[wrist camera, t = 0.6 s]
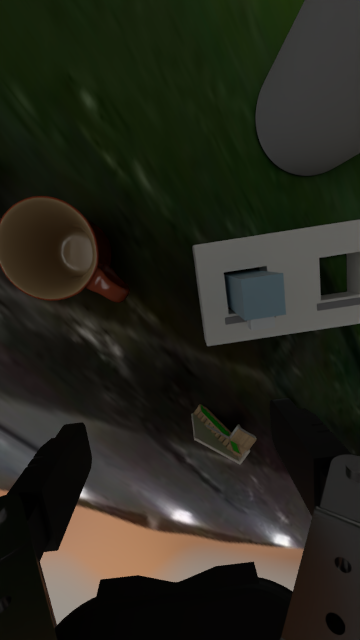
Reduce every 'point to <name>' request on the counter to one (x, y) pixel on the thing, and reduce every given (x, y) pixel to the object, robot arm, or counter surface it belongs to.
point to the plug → (256, 297)
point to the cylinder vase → (314, 91)
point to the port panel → (299, 280)
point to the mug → (56, 252)
